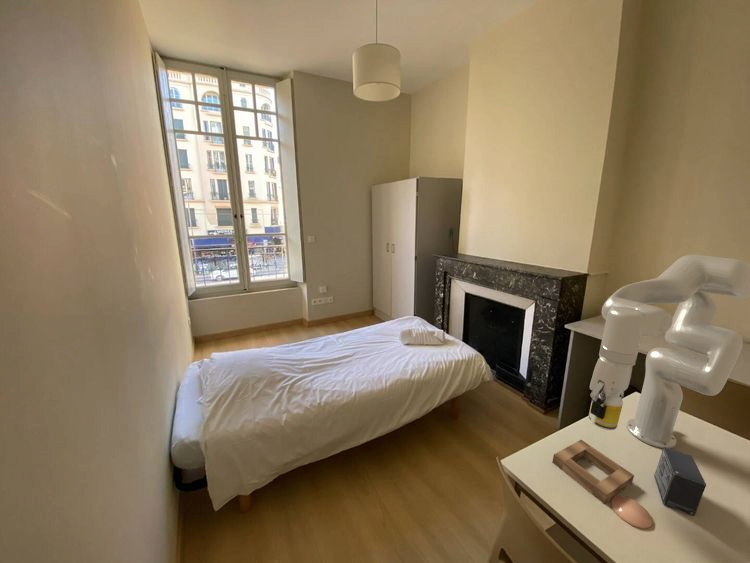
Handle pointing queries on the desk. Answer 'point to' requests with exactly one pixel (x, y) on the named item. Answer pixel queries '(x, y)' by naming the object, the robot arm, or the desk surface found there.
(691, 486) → the small box
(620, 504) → the coaster
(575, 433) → the desk surface
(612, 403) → the pill bottle
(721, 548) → the desk surface
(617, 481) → the pocket holder
